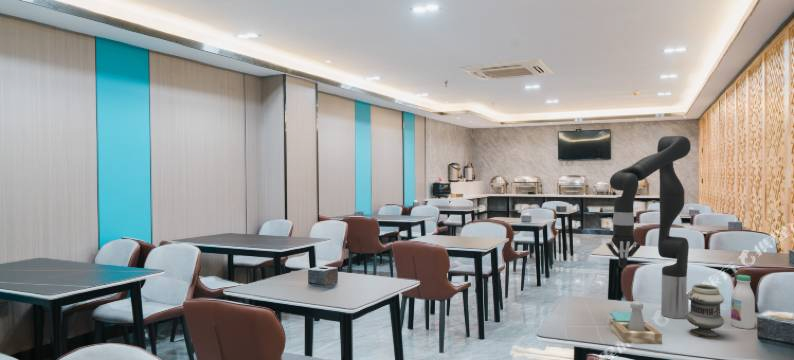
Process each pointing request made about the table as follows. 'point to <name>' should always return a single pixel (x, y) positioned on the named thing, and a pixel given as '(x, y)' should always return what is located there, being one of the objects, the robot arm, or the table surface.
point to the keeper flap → (621, 316)
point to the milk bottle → (743, 304)
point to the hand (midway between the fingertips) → (622, 267)
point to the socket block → (636, 333)
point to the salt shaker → (636, 317)
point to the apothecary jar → (705, 310)
